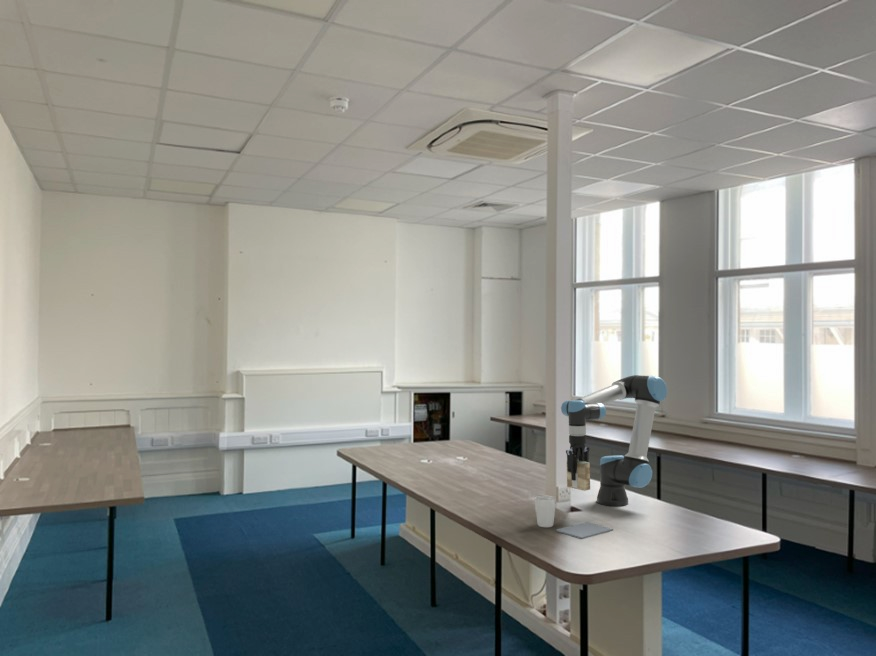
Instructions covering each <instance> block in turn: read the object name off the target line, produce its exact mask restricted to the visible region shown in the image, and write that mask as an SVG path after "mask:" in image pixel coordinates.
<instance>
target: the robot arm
mask: <svg viewBox="0 0 876 656" xmlns="http://www.w3.org/2000/svg"><path fill="white" fill-rule="evenodd" d="M667 394H668V386H667V384H666V382H665V380H664V379H663V378H661V377H659V376H656V375H655V376H654V375H637V374H636V375H635V374H634V375H629V376H626V377H623V378H620V379H618V380H615V381H613V382H612V384H611V385H608V386H607V387H604V388H601V389H599V390H597V391H594V392H592V393H589V394H587V395H584V396H582V397H579V398H577V399H575V400H573V399H572V400H565V401H563V402H562V403H561V406H560V409H561V414H562V415H563V416H566V417H568V434H569V435H568V442H569V444H570V447H569V449H566V450H565V453H566V468H567V467H568V472H570V473H571V479H572V487H574V488H578V473H576V470H577V461H578V460H579V461H584V462H589V455H590V454H589V452H590V447H587V446H586V443H587V436H586V434H587V426H586V424H587V422H586V421H595V420H597V421H598V420H601V419H603V418H605V416H606V414H607V409H606V406H605V405H607V404H609V403H612V402H615V401H617V400H618V401H619V400H620V401H622V400H625V399H634V402H635V403H636V410H635V414H634V415H635V416H634V421H633V424H632V432H631V437H630V442H629V446H628V452H627V453H626V454H625V455H620V454H619V455H618V454H617V455H606V456H601V458H600V459H599V461H600V463H599V473H600V474H599V477H600V479H599V481H600V483H599V485H600V486H599V490H598V492H597V496H596V503H598V504H600V505H602V506H611V507H621V506H627V505H628V504H629V498H628V494H627V491H626V487H625V486H630V487H632V488H639V489H641V488H645V487H646V486H647V485H649V484H650V482H651V480H652V478H653V469H652V467H651V466H650V464H649V463H650V461H649V459H648V456H647V455H648V450H649V446H650V445H649V444H650V439H651V434H652V429H653V424H654V418H655V413H656V408H658V407H660V404H661V403H660V402H662V401H664V400H665V398H666V397H667ZM574 488H573V489H574Z"/></svg>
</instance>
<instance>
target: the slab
mask: <svg viewBox="0 0 876 656" xmlns="http://www.w3.org/2000/svg"><path fill="white" fill-rule="evenodd" d="M590 465H591V463H590V462H584V461H579V460H578V461H577V470H576V473H578V488H574V487H572V479H571V473H570V472H568V467H567V466H566V487H567V488H570V489H574V490H580V491H583V492H585V491H589V490H591V470H590V468H591V467H590Z"/></svg>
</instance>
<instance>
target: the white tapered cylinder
mask: <svg viewBox="0 0 876 656" xmlns="http://www.w3.org/2000/svg"><path fill="white" fill-rule="evenodd" d="M556 504H557V502H556V497H555V496H553V495H546V494H545V495H542V494H541V495H536V496H535V497H534V509H535V515H536V522H537V526H538V527H541V528H552V527H553V526H554V521H555V516H556V515H555V513H556V506H557V505H556Z"/></svg>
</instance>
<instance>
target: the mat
mask: <svg viewBox="0 0 876 656" xmlns="http://www.w3.org/2000/svg"><path fill="white" fill-rule="evenodd" d="M555 531H556V532H557V533H561V534H564V535H568V536H571V537H575V538H577V539H580V540H583V539H587V538H590V537H595V536H597V535H601V534H605V533H610V532H612V531H614V528H611V527H607V526H604V525H600V524H597V523H594V522H589V521H586V522H585V521H584V522H582V523H578V524H577V523H576V524H574V525H569V526H565V527H562V528H558V529H555Z"/></svg>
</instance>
